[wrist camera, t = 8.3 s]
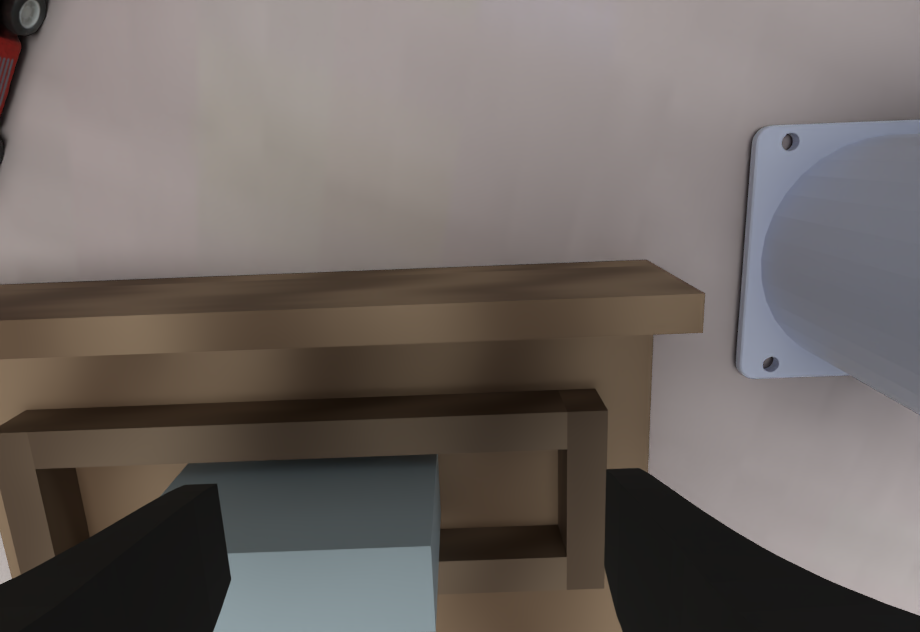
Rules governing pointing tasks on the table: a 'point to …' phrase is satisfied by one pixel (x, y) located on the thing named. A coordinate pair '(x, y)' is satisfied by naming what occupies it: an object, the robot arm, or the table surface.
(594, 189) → the table surface
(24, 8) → the toy fire truck
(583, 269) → the track base
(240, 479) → the grey-blue rectangular block
